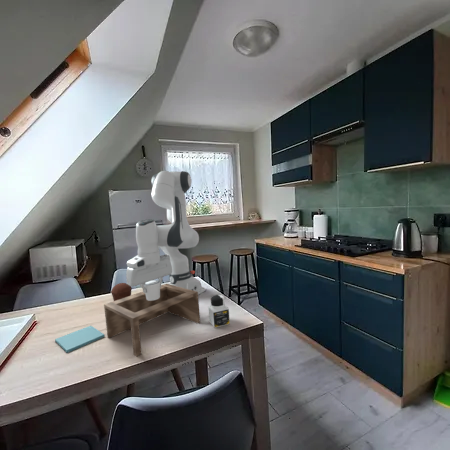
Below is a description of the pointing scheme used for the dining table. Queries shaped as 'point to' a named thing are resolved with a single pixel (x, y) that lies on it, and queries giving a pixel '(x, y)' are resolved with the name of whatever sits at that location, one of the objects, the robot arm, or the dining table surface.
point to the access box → (149, 311)
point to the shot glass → (152, 290)
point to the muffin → (121, 291)
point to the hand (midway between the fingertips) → (152, 290)
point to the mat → (79, 338)
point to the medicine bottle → (218, 311)
